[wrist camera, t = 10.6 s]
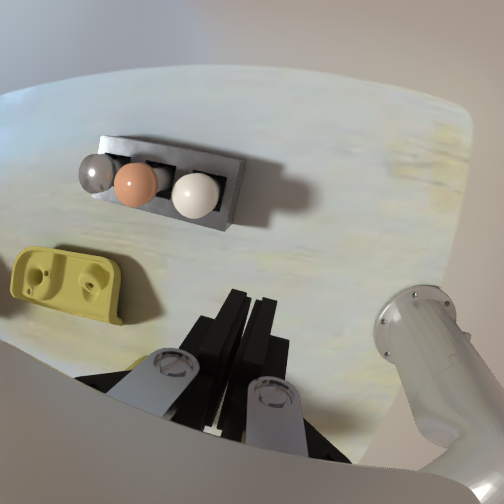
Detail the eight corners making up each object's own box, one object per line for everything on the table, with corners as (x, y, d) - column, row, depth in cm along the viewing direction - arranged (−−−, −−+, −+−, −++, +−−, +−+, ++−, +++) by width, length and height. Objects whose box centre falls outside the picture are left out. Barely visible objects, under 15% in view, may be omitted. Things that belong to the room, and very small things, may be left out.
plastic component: (116, 259, 42) (107, 331, 40) (135, 264, 49) (126, 327, 48) (16, 242, 42) (8, 302, 41) (41, 248, 50) (33, 303, 48)
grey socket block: (246, 160, 38) (240, 161, 34) (231, 224, 40) (224, 231, 36) (117, 136, 39) (101, 135, 35) (108, 193, 41) (92, 197, 38)
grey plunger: (147, 154, 39) (112, 157, 31) (141, 187, 40) (106, 197, 32) (119, 149, 39) (81, 151, 31) (114, 181, 41) (76, 189, 33)
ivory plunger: (236, 173, 38) (219, 179, 30) (228, 208, 40) (209, 223, 32) (201, 166, 38) (176, 169, 30) (194, 200, 40) (168, 212, 32)
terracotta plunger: (185, 163, 37) (155, 167, 29) (178, 199, 38) (148, 211, 30) (152, 157, 37) (117, 159, 29) (146, 191, 39) (111, 202, 31)
